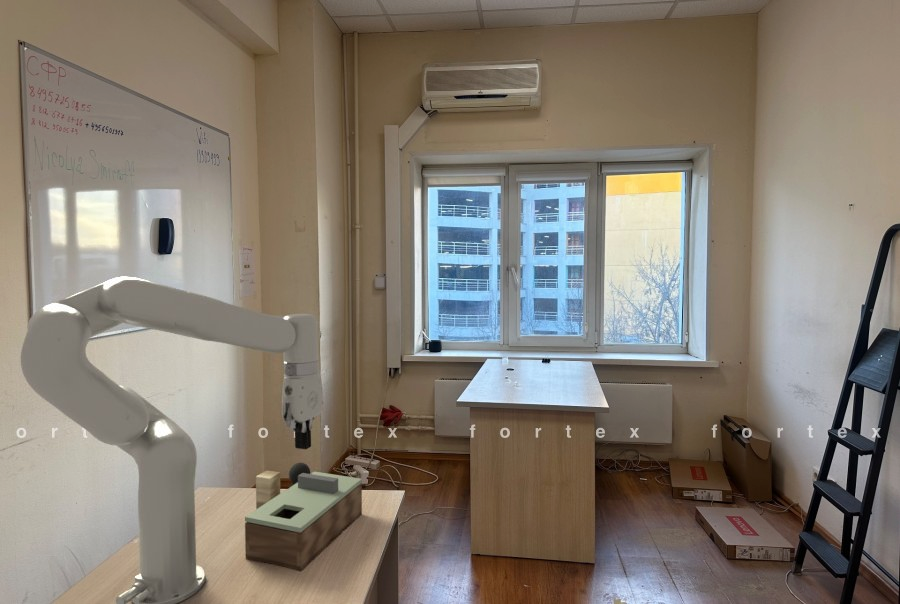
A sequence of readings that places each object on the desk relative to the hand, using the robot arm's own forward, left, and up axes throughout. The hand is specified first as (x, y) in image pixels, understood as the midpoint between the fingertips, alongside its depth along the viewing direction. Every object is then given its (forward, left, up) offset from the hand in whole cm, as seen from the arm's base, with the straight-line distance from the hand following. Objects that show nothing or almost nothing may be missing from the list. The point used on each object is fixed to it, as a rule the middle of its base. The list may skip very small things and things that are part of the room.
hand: (303, 447), depth 114 cm
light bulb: (+17, +13, -22) cm, 31 cm away
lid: (+2, 0, -13) cm, 14 cm away
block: (+4, +13, -22) cm, 26 cm away
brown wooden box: (+2, 0, -22) cm, 22 cm away
